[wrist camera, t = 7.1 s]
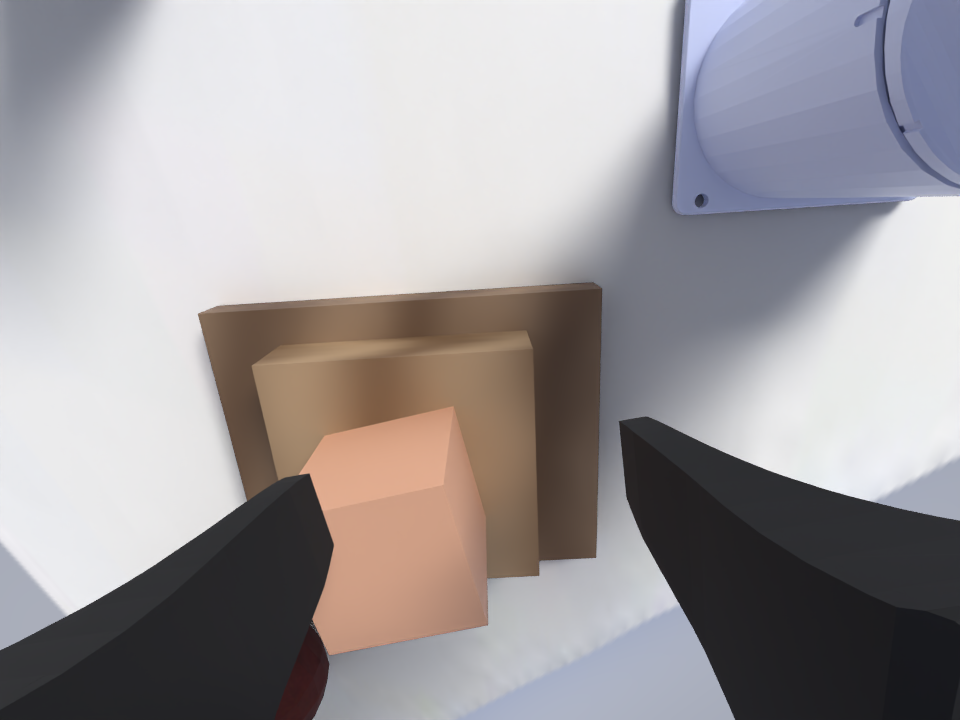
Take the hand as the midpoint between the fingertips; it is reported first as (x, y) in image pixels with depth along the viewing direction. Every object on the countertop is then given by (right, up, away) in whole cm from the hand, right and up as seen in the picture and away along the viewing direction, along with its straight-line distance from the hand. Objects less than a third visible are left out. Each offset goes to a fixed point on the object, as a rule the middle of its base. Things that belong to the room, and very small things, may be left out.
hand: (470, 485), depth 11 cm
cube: (-3, -2, +7) cm, 8 cm away
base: (-3, -1, +11) cm, 11 cm away
